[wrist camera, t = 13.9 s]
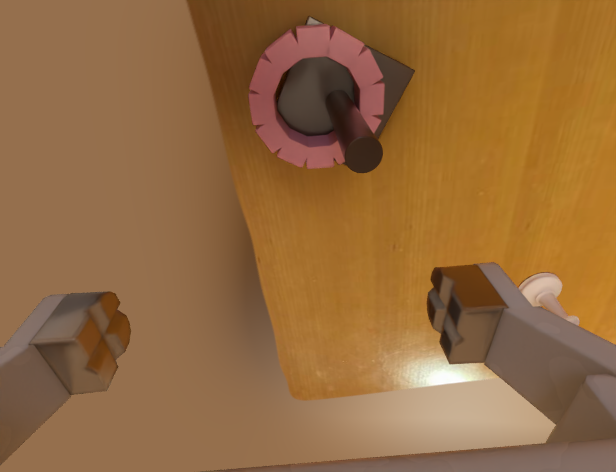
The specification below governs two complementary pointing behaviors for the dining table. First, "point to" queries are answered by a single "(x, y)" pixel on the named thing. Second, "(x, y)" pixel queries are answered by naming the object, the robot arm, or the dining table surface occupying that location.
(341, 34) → the ring
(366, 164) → the stand
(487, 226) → the dining table surface
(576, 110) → the dining table surface
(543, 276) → the chess piece
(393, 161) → the dining table surface
